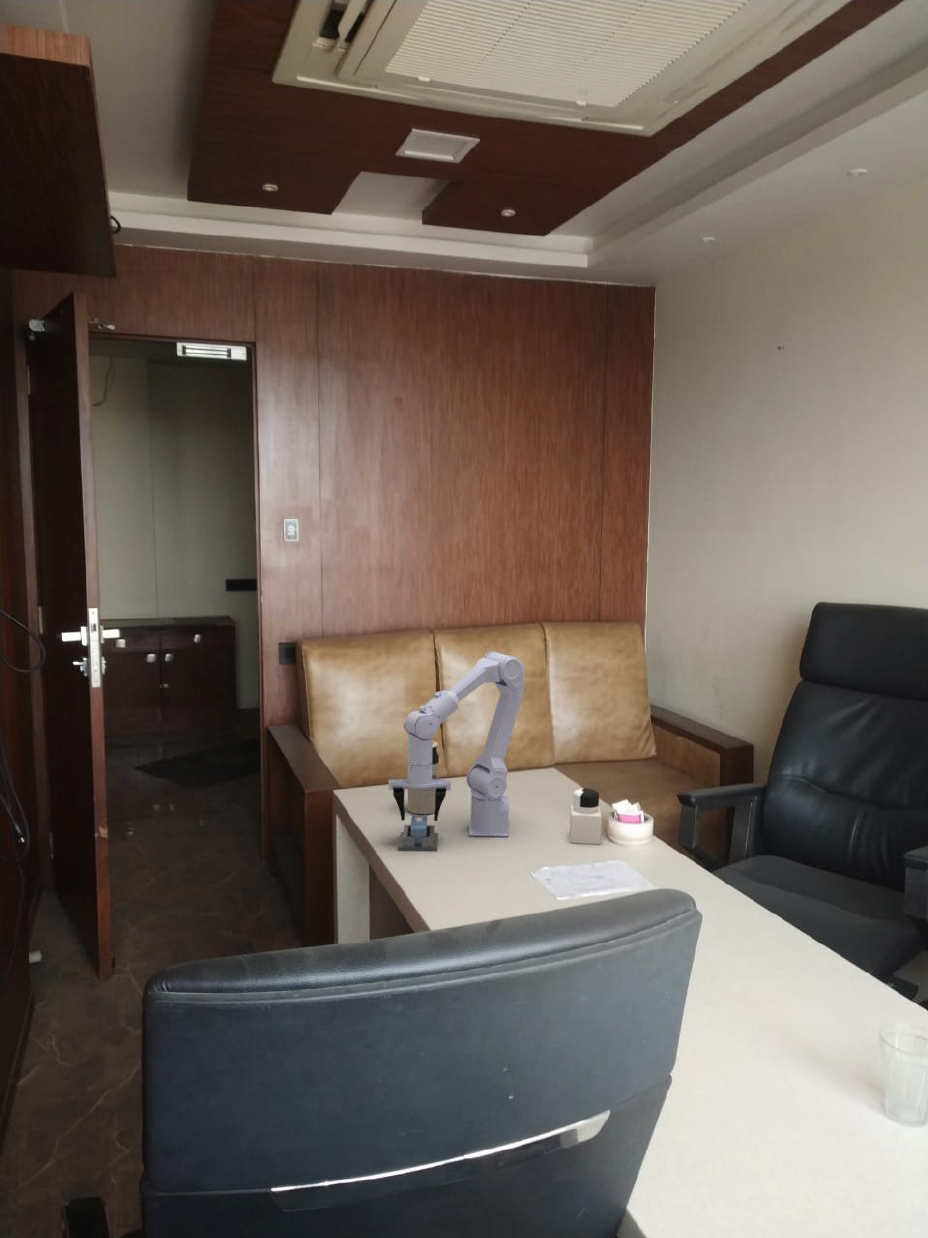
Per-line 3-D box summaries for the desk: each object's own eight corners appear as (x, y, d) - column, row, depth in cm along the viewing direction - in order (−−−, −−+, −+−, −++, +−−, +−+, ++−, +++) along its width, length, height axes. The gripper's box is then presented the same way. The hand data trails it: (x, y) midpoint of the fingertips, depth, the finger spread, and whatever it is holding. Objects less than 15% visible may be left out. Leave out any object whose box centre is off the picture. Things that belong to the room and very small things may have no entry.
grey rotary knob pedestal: (598, 834, 215) (600, 787, 214) (600, 845, 208) (602, 796, 207) (569, 833, 216) (571, 785, 215) (570, 843, 209) (572, 794, 207)
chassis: (438, 836, 212) (438, 824, 211) (437, 851, 202) (437, 839, 201) (400, 835, 211) (401, 824, 211) (398, 850, 201) (398, 838, 201)
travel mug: (402, 807, 232) (403, 741, 230) (430, 804, 236) (431, 738, 234) (414, 816, 225) (415, 748, 223) (442, 813, 228) (443, 745, 227)
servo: (427, 834, 210) (427, 810, 210) (425, 845, 203) (426, 821, 202) (412, 833, 210) (412, 810, 210) (410, 845, 203) (410, 820, 202)
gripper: (451, 758, 209) (450, 814, 210) (390, 758, 208) (389, 813, 210) (451, 767, 201) (450, 824, 203) (387, 766, 201) (387, 823, 203)
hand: (419, 819), depth 206 cm, fingers open, 7 cm apart
